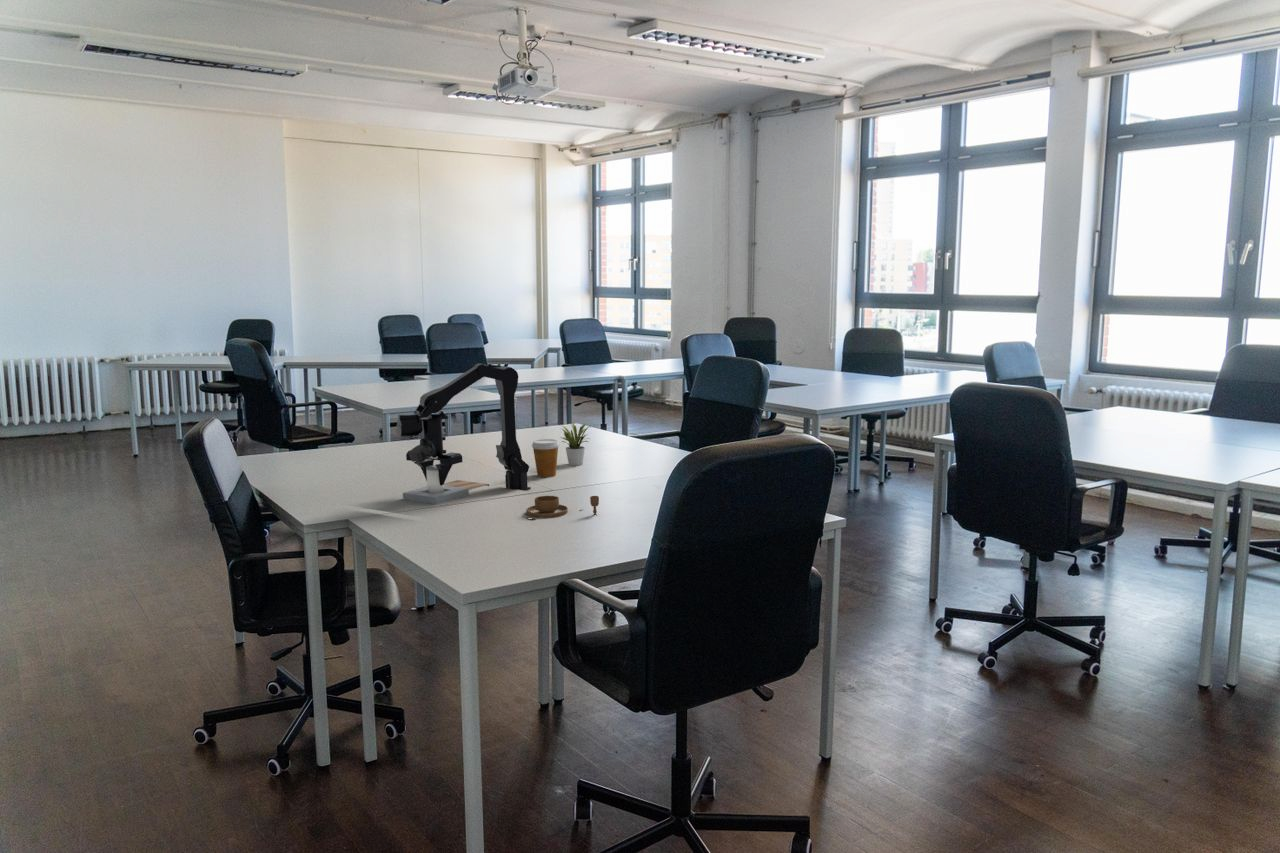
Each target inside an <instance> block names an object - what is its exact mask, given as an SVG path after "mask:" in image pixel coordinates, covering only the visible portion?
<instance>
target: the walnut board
mask: <svg viewBox="0 0 1280 853" xmlns="http://www.w3.org/2000/svg"><path fill="white" fill-rule="evenodd" d="M444 485H446V486H453V487H460V488H468V489H469V491H470V490H473V489H477V488H480V487H485V486H486V487H490V484H489V483H482V482H476V481H467V480H461V479H457V480H453V481H449V482H444Z"/></svg>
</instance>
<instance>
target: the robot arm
mask: <svg viewBox="0 0 1280 853" xmlns="http://www.w3.org/2000/svg"><path fill="white" fill-rule="evenodd" d="M482 378H487V379H492V380H494V382H495V386H496V389H497V391H498V392H497V393H499V404H500V424H501V441H500V444H496V445H495V449H496V454H495V457H496V458H497V459H498V462H499V464H501V465H502V466H503V467H504V470H505V475H504V477H505V489H508V490H517V491H527V490H530V489H531V488H532V487H530V486H528V472H529V468H530V465H529V464H528V463H527V462H526V461H524V459H523V458H522V451H521V449H520V445H519V443H518V441H517V429H516V428H517V427H516V426H517V425H516V408H515V407H516V406H515V401H516V400H515V395H516V391H517V388H518V384H519V373H518V371H517V370H516V369H515V368H512V367H508V366H503V365H502V366H500V367H495V366H494V367H493V366H489V365H486V364H484V363H475V365H473V367H471V368H470V369H468V370H467V371H465V372H463V373H462V374H461V375H459V376H458V377H456V378H454V379H453V380H451V381H450V382H448V383H446V384H445V385H443V386H441V387H438V388H435V389H433V390H430V391H427V392H425V393H423V394H422V395H421V396H420V398H419V404H418V405H417V407H416V409H415V410H414V412H413V413H412V414H409V413H408V414H403V413H401V414H398V416H397V421H396V432H397V436H398V438H409V437H418V436H419V435H420V434H421V433H422V435H423V437H421V438H420V440H419V444H418V445H415V447H413V448H412V449H411V450H408V451H407V452H406V454H405V458H406V459H405V460H406V461H411V462H412V463H414V464H415V465H417V466H418V467H419V468H420V469H421V472H422V473H423V476H424V478H425V481H426V482H427V472H426V467H427V466H433V465H435V466H436V467H437V468H438V471H439V481H440V485H441V486H442V485H444V484H445V483H446V480H447V477H448V474H449V472H450V471H451V469H452V468H453V465H457V464H461V463H463V455H462V454H461V453H459V452H448V453H447V449H444V441H446V436H443V422H442V420H448V419H449V416H448V415H447V414H446V413H445V412H444V411H442V409H443V408H445V407H446V406H447V405H448V403H449V402H451V400H452V399H453V398H454V397H455V396H457V395H459V394H460V393H461V392H462V391H465V389H467V388H469V387H471V386H472V385H473V384H475V383H476V382H478V381H480V380H481V379H482ZM435 461H439V463H437V464H434V462H435Z"/></svg>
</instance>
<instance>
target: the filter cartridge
mask: <svg viewBox="0 0 1280 853" xmlns="http://www.w3.org/2000/svg"><path fill="white" fill-rule="evenodd" d="M435 465H436V464H433V466H427V467H426V472H427V481H426V487H427V490H428V493H433V494H438V493H441V492H444V485H442V486H441V485H440V481H439V471H438V468H437V467H436V466H435Z"/></svg>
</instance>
